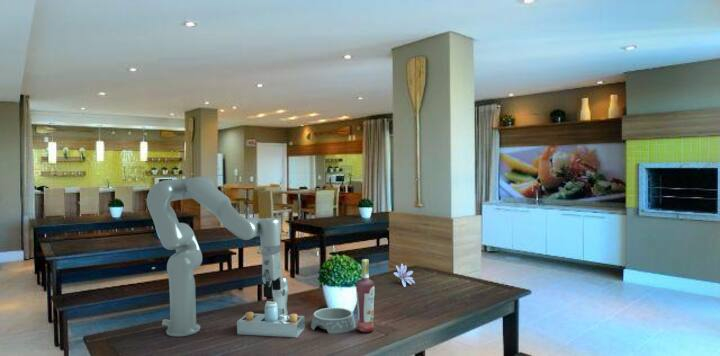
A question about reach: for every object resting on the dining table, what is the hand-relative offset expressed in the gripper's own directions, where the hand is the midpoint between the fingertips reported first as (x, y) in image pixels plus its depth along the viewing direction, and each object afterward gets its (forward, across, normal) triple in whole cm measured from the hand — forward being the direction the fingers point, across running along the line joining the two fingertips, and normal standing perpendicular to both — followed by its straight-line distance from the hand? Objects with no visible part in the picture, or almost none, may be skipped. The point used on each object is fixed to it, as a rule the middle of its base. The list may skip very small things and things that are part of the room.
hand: (272, 293), depth 185 cm
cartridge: (+15, 0, +1) cm, 15 cm away
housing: (+15, 0, +1) cm, 15 cm away
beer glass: (+15, +21, +4) cm, 26 cm away
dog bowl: (+16, +10, -22) cm, 29 cm away
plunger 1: (+13, 0, +10) cm, 16 cm away
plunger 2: (+13, 0, -8) cm, 16 cm away
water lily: (+17, +78, -46) cm, 92 cm away
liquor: (+16, +6, -36) cm, 39 cm away
